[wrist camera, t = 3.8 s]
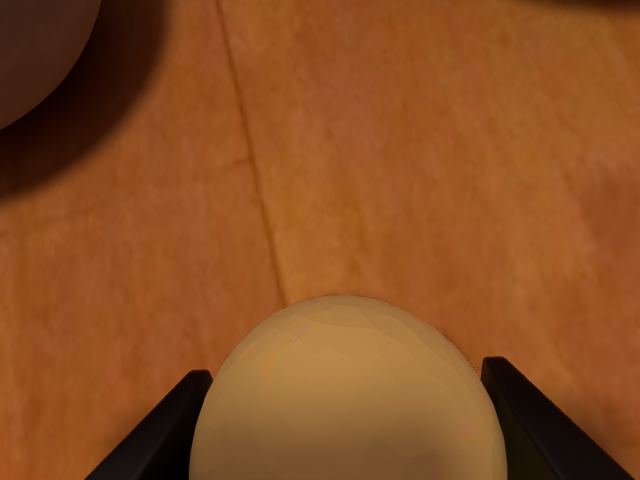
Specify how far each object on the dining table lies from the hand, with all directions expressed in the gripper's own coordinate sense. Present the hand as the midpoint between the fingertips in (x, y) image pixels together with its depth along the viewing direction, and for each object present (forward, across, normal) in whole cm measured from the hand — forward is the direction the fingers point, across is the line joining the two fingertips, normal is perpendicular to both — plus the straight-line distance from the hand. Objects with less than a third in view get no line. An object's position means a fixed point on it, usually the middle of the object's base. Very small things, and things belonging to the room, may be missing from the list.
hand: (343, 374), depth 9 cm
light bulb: (+4, 0, +6) cm, 7 cm away
